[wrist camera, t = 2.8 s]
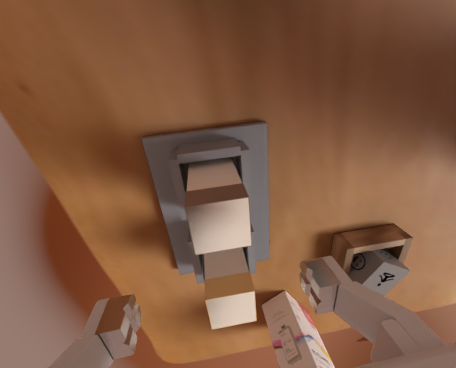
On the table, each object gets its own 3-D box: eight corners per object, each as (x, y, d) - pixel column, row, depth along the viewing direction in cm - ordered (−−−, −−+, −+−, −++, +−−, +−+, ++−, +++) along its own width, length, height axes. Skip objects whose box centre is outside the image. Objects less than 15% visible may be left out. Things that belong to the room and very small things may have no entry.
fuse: (236, 224, 26) (254, 291, 18) (239, 250, 28) (256, 320, 20) (202, 230, 25) (205, 300, 17) (207, 255, 27) (211, 329, 19)
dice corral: (394, 223, 31) (413, 237, 28) (380, 268, 35) (395, 284, 32) (333, 234, 30) (347, 249, 27) (326, 278, 34) (337, 295, 31)
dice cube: (380, 244, 32) (410, 270, 28) (359, 267, 34) (383, 296, 29) (356, 235, 31) (384, 261, 26) (335, 260, 32) (357, 289, 28)
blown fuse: (229, 152, 22) (249, 196, 14) (233, 188, 23) (252, 245, 15) (188, 158, 21) (184, 206, 13) (195, 194, 23) (195, 255, 15)
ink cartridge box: (310, 311, 37) (371, 437, 24) (286, 325, 38) (332, 454, 25) (285, 288, 34) (341, 422, 21) (259, 304, 35) (297, 442, 22)
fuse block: (264, 121, 22) (277, 129, 18) (267, 253, 30) (276, 277, 26) (143, 136, 21) (132, 148, 17) (180, 268, 29) (178, 295, 25)
